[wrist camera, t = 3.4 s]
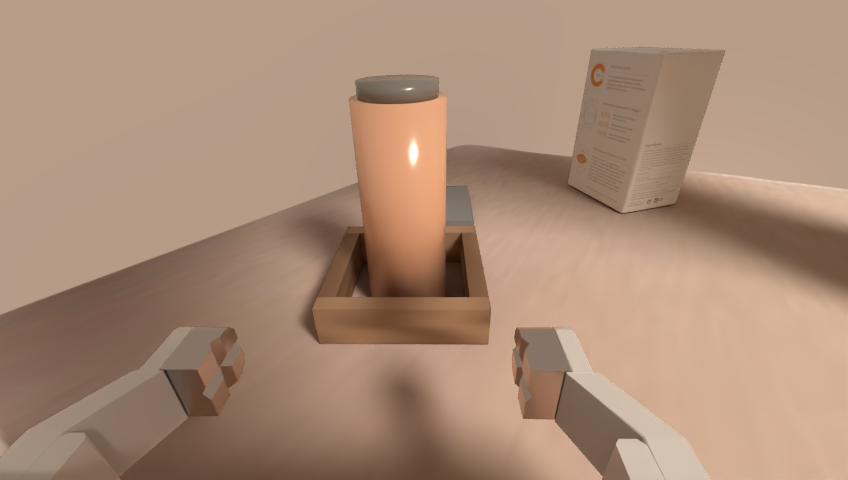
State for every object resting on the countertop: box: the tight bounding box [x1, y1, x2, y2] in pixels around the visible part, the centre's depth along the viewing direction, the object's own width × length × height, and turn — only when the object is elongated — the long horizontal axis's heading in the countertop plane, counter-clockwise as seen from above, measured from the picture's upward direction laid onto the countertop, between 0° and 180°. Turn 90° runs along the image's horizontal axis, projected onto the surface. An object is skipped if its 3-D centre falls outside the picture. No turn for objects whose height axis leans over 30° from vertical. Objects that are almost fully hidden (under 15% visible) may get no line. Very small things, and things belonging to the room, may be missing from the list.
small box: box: [568, 47, 725, 213], centre depth 34 cm, size 8×6×13 cm
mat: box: [446, 186, 474, 226], centre depth 35 cm, size 8×8×1 cm
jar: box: [349, 75, 447, 297], centre depth 21 cm, size 5×5×13 cm
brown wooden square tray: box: [312, 226, 491, 344], centre depth 24 cm, size 9×9×2 cm
